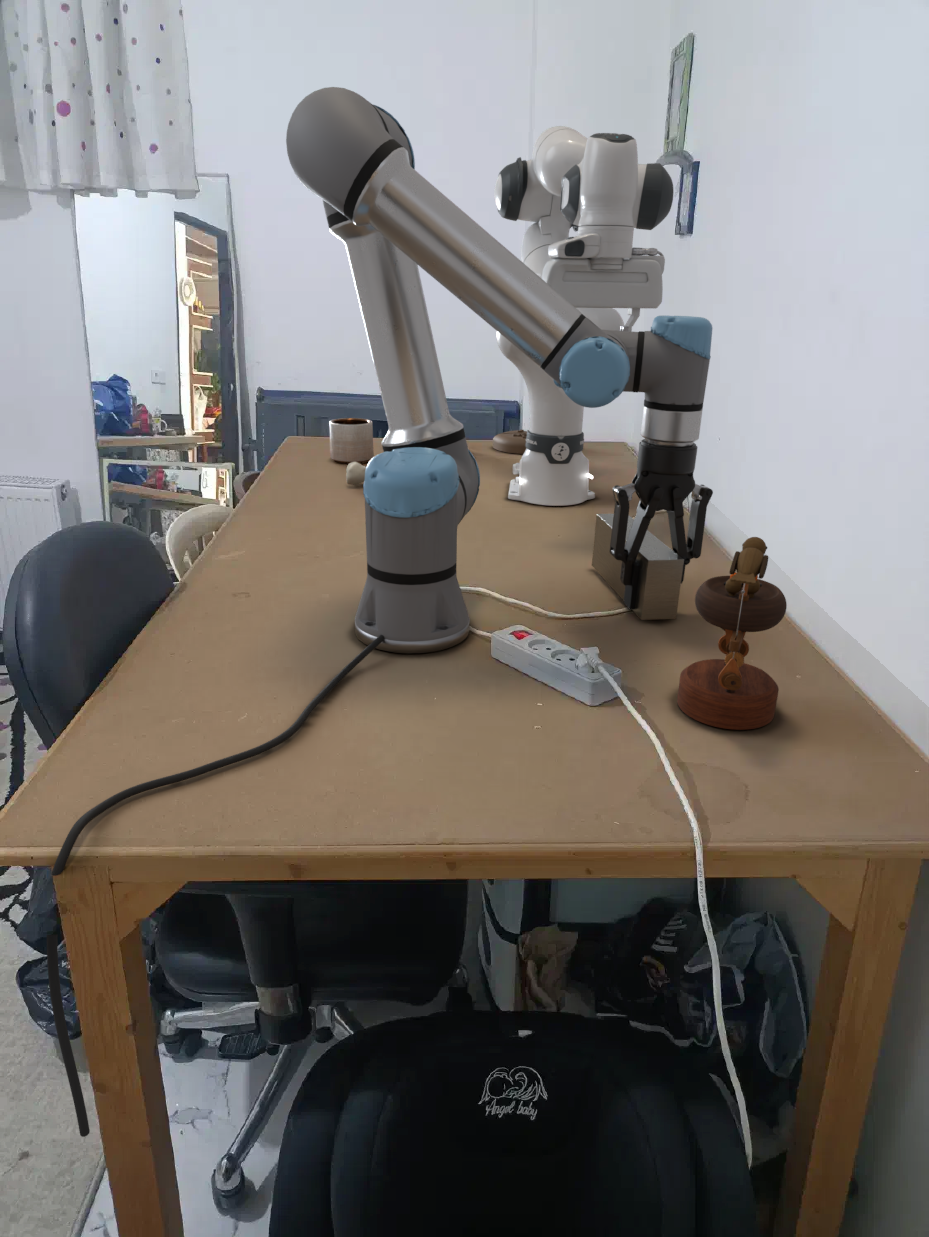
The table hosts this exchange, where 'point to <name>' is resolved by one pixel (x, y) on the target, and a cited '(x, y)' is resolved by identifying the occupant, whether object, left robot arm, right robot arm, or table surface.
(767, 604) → the music box
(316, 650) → the table surface
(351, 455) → the planter
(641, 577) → the bar
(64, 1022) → the left robot arm
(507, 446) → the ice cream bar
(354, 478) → the dog toy
